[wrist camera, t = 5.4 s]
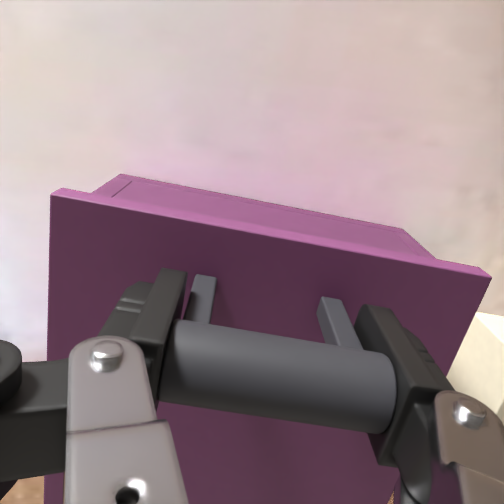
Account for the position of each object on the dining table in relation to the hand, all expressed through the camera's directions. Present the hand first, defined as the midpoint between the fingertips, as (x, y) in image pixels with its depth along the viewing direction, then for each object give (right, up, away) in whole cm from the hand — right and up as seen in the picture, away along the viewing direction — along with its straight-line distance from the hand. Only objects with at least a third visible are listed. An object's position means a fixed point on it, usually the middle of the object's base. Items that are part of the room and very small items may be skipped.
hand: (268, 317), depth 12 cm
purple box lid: (-1, -5, +4) cm, 7 cm away
